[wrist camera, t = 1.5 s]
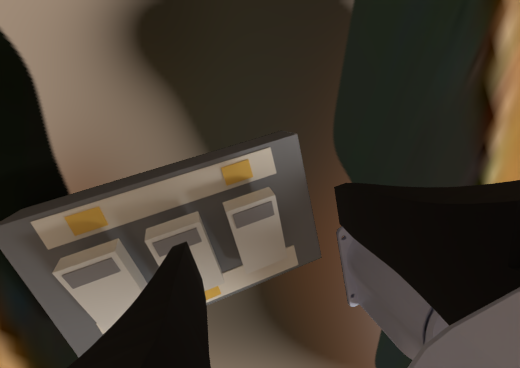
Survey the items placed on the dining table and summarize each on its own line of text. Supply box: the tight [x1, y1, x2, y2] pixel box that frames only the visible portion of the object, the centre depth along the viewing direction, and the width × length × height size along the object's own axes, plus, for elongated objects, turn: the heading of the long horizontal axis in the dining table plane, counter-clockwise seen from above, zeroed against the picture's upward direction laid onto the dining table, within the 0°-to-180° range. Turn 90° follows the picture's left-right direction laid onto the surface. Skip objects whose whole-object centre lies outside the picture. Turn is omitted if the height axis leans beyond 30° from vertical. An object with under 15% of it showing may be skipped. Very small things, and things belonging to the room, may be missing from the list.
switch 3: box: [223, 187, 288, 274], centre depth 16 cm, size 5×3×1 cm, turn 15°
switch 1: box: [52, 238, 148, 331], centre depth 14 cm, size 5×3×1 cm, turn 14°
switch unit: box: [0, 131, 321, 357], centre depth 18 cm, size 10×18×3 cm, turn 105°
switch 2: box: [144, 211, 225, 291], centre depth 15 cm, size 5×3×1 cm, turn 15°
